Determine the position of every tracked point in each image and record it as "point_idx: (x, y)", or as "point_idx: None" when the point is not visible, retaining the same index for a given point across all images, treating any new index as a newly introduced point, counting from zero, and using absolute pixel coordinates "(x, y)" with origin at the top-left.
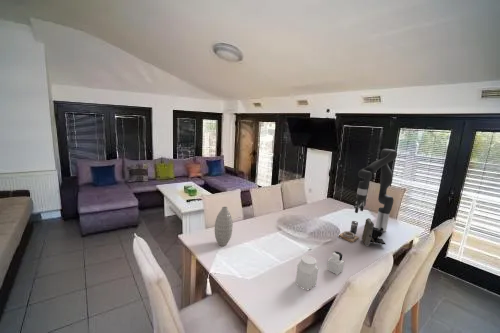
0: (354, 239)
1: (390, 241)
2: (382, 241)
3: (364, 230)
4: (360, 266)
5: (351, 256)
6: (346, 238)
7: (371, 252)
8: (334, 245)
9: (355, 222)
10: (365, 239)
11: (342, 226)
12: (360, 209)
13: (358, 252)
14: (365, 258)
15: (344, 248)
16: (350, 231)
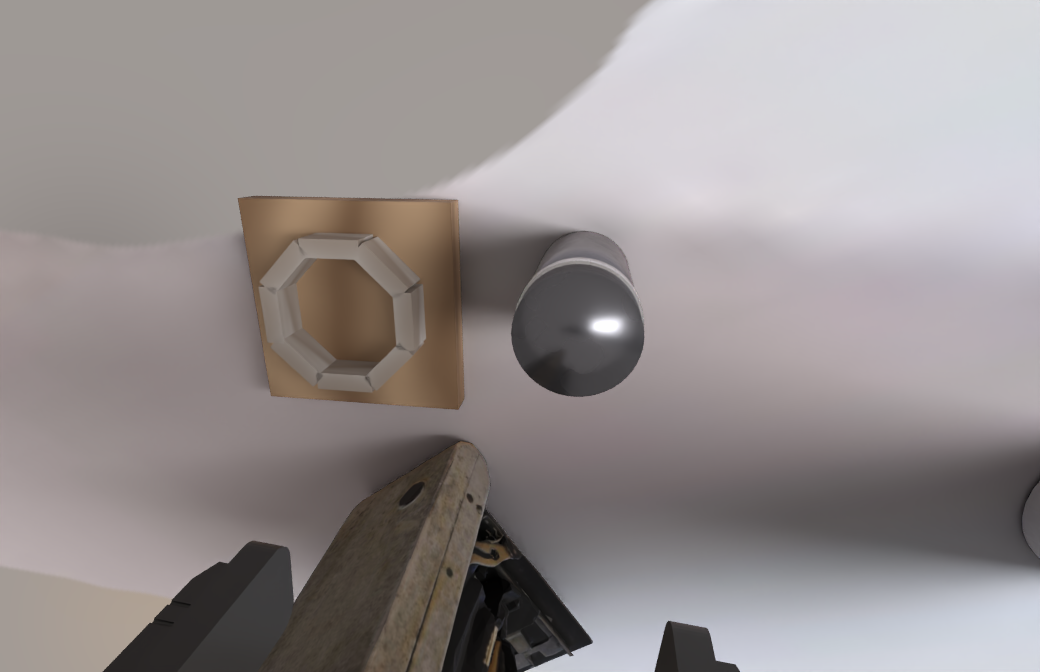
0: (333, 396)
1: (742, 653)
2: (527, 652)
3: (386, 553)
4: (10, 564)
5: (49, 475)
6: (258, 319)
7: (291, 571)
8: (33, 280)
9: (565, 351)
10: (336, 538)
11: (683, 29)
12: (673, 669)
13: (170, 494)
14: (145, 561)
15: (95, 379)
16: (551, 247)
